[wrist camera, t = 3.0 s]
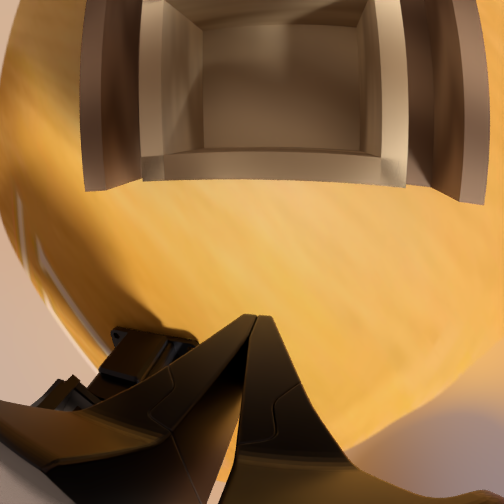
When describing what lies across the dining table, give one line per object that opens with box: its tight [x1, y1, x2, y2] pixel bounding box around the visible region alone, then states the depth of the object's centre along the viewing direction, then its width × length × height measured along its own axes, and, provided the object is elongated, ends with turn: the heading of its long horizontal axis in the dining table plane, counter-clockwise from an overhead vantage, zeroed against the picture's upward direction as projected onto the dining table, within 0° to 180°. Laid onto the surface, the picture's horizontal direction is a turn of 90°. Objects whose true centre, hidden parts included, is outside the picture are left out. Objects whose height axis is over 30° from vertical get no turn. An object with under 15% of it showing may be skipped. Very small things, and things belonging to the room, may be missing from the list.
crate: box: [139, 0, 409, 188], centre depth 9 cm, size 7×8×4 cm
